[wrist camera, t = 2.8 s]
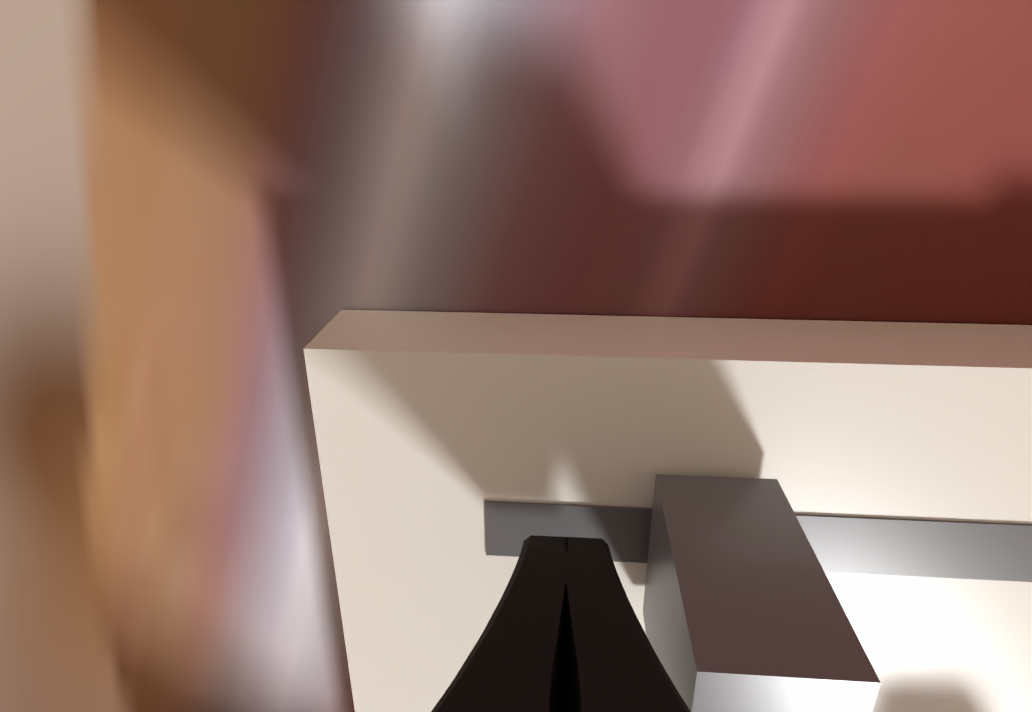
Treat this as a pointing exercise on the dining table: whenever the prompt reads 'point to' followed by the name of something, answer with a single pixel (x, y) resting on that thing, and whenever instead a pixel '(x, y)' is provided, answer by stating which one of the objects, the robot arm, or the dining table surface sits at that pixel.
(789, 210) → the dining table surface
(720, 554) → the gray tab
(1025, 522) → the switch board
